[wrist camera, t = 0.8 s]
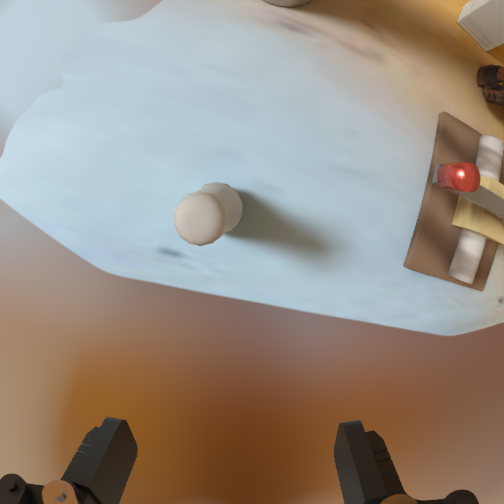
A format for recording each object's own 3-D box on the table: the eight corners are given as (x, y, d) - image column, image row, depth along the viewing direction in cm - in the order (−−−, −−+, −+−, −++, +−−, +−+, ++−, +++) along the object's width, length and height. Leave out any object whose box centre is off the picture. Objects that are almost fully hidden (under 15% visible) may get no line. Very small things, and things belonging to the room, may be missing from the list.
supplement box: (486, 53, 28) (532, 33, 16) (455, 21, 27) (498, -7, 15) (493, 32, 27) (534, 12, 14) (464, 3, 26) (502, -24, 14)
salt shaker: (222, 172, 34) (203, 165, 21) (253, 210, 35) (252, 224, 22) (185, 204, 35) (147, 216, 22) (215, 241, 36) (194, 272, 23)
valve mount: (439, 113, 32) (476, 101, 23) (508, 158, 32) (544, 158, 24) (403, 265, 36) (436, 286, 28) (477, 288, 37) (510, 307, 28)
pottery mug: (487, 57, 29) (528, 66, 22) (494, 106, 35) (531, 118, 28) (464, 69, 27) (513, 79, 21) (471, 126, 33) (516, 141, 27)
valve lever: (515, 205, 25) (543, 211, 20) (510, 228, 26) (538, 236, 21) (433, 158, 25) (463, 155, 19) (427, 186, 25) (457, 188, 20)
